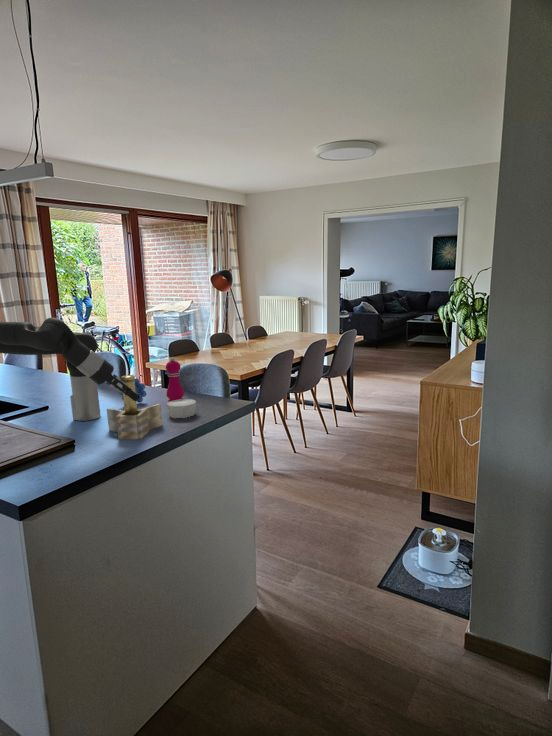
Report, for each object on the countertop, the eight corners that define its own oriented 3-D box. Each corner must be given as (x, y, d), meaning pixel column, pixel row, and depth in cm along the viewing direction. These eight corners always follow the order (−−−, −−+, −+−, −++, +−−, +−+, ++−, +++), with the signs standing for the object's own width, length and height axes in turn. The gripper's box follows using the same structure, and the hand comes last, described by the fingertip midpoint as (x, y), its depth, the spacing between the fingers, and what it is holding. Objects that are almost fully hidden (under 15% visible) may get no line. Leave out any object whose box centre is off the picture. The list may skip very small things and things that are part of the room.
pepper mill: (176, 406, 197) (172, 359, 193) (163, 405, 201) (159, 358, 197) (188, 402, 203) (184, 356, 199) (175, 400, 207) (172, 355, 203)
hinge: (97, 439, 160) (94, 416, 158) (114, 425, 174) (112, 404, 173) (149, 438, 158) (147, 415, 157) (162, 424, 173) (161, 403, 172)
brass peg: (122, 419, 159) (118, 378, 157) (127, 415, 164) (123, 375, 161) (135, 419, 159) (132, 377, 156) (140, 415, 163) (136, 375, 161)
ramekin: (186, 409, 192) (185, 397, 191) (203, 414, 184) (202, 401, 183) (162, 416, 185) (161, 403, 184) (178, 421, 177) (177, 408, 176)
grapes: (122, 408, 197) (119, 380, 195) (118, 405, 203) (115, 377, 200) (150, 404, 203) (147, 376, 201) (145, 400, 209) (143, 373, 206)
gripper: (82, 372, 157) (122, 402, 166) (91, 379, 146) (135, 411, 154) (97, 355, 159) (136, 385, 168) (108, 360, 147) (149, 392, 156)
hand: (135, 397), depth 161 cm, fingers closed on brass peg, 4 cm apart
